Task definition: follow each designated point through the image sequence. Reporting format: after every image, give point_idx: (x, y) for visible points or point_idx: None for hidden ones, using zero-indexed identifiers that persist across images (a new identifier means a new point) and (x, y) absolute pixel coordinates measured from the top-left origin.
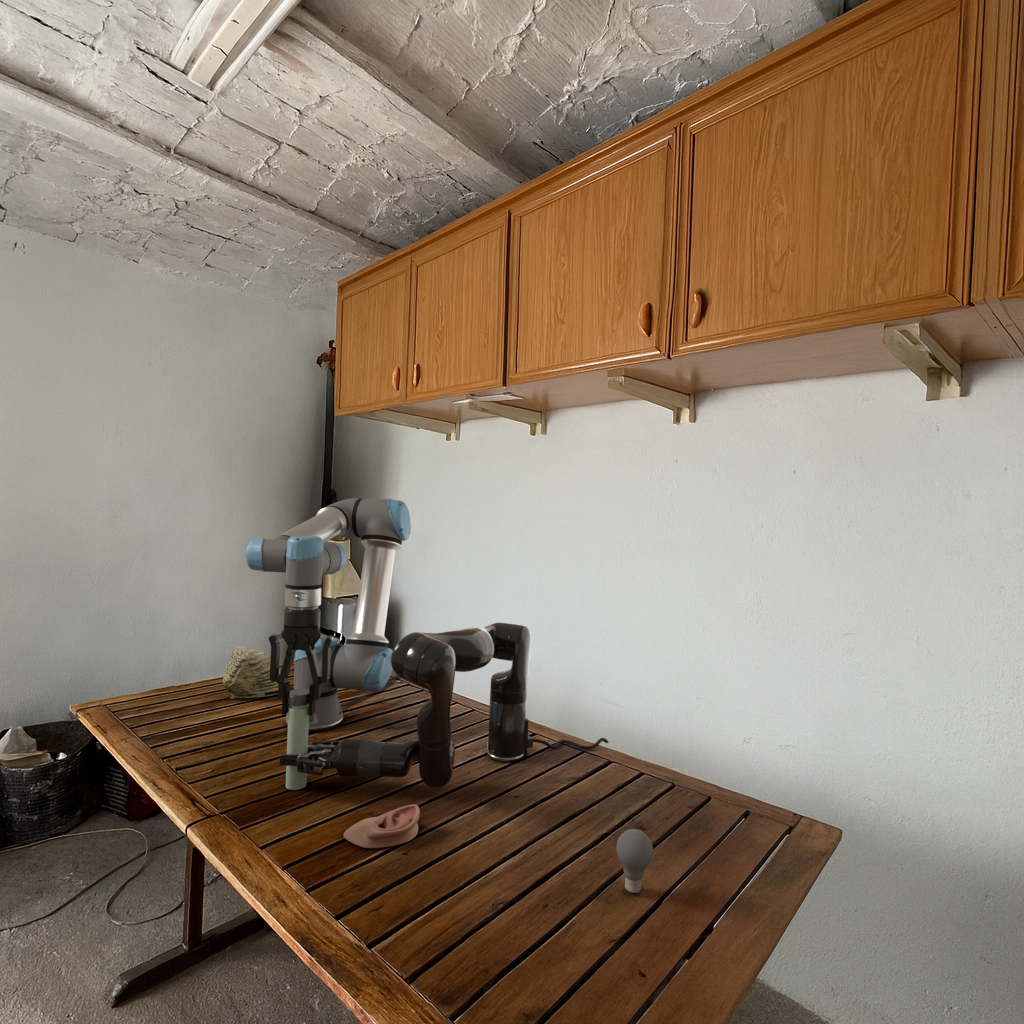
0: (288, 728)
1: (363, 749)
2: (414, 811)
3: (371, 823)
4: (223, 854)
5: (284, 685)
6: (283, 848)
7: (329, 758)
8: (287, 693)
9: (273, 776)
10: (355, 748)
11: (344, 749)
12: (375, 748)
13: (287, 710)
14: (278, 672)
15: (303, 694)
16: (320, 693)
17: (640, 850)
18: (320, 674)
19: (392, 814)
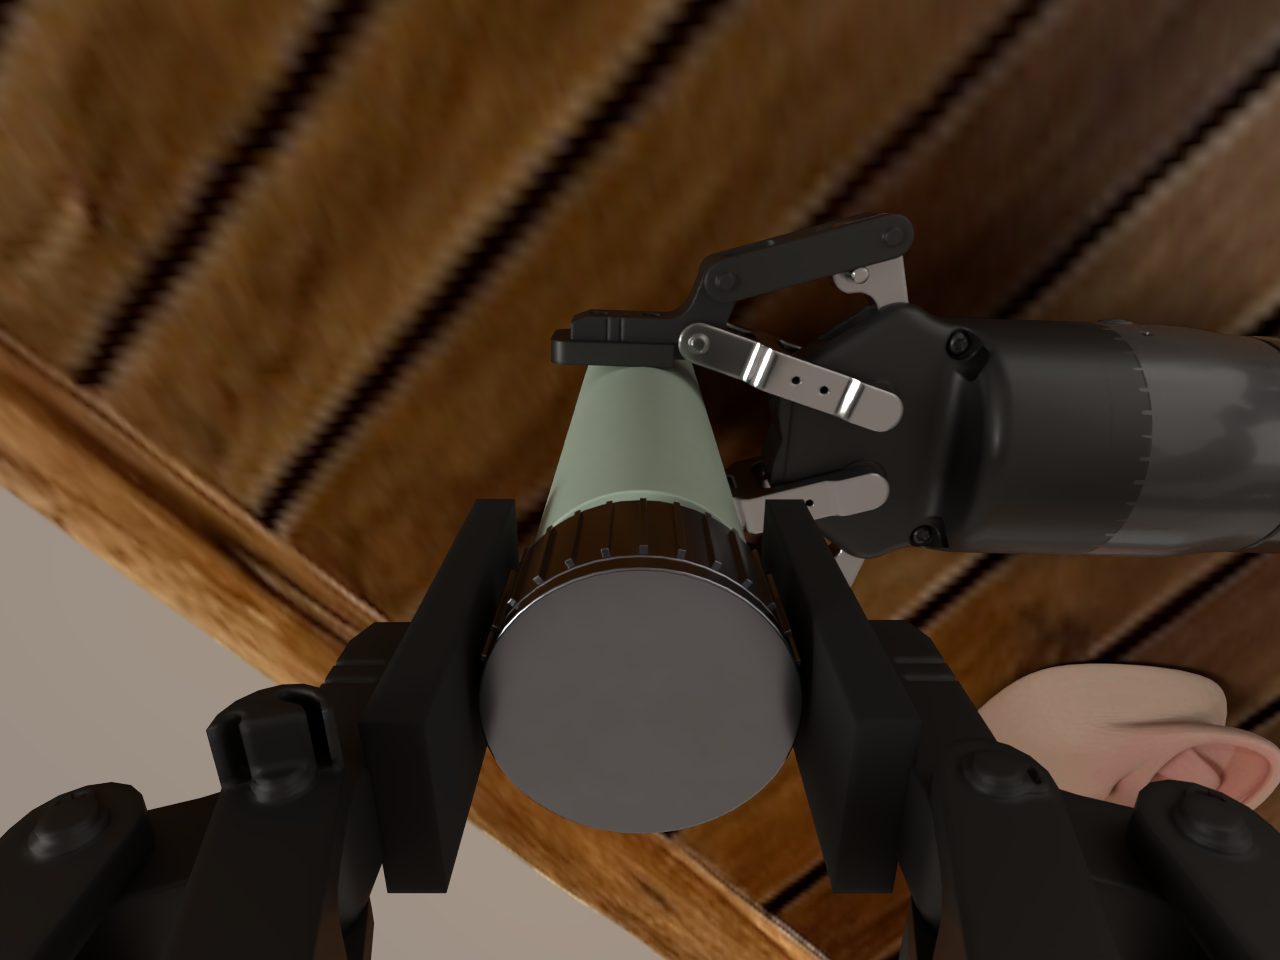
0: None
1: (1134, 547)
2: (1253, 753)
3: None
4: (559, 863)
5: (416, 887)
6: (738, 831)
7: (880, 543)
8: (475, 721)
9: (478, 271)
10: (1079, 540)
11: (998, 543)
12: (1224, 536)
13: (513, 566)
14: (88, 921)
15: (727, 799)
16: (939, 658)
17: None
18: (1087, 878)
19: (1155, 773)
